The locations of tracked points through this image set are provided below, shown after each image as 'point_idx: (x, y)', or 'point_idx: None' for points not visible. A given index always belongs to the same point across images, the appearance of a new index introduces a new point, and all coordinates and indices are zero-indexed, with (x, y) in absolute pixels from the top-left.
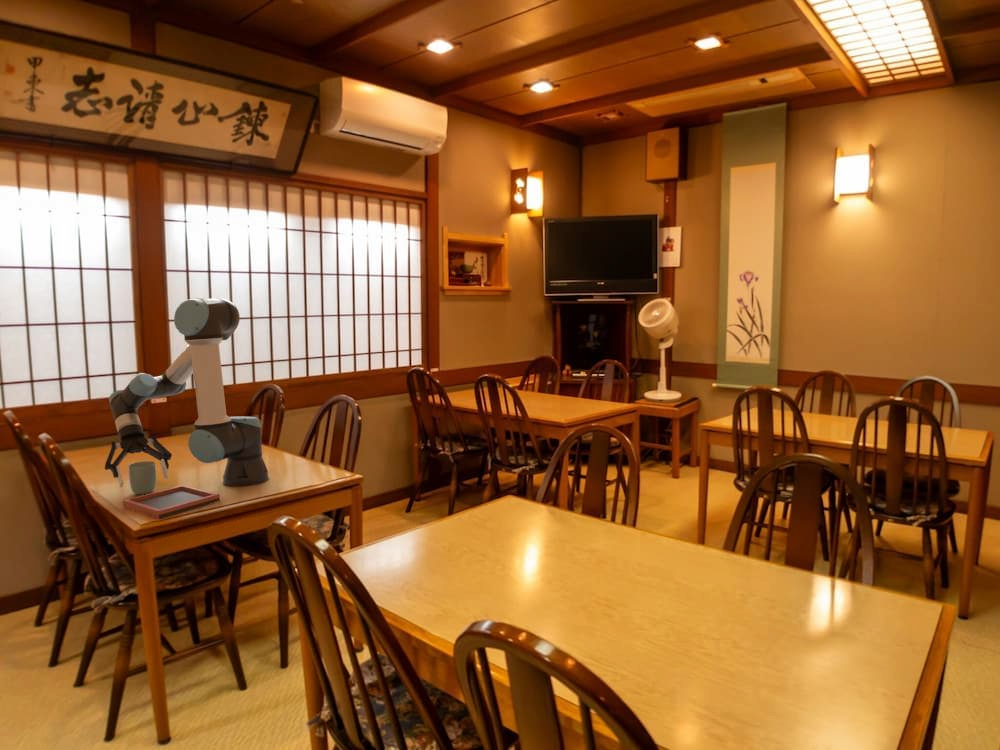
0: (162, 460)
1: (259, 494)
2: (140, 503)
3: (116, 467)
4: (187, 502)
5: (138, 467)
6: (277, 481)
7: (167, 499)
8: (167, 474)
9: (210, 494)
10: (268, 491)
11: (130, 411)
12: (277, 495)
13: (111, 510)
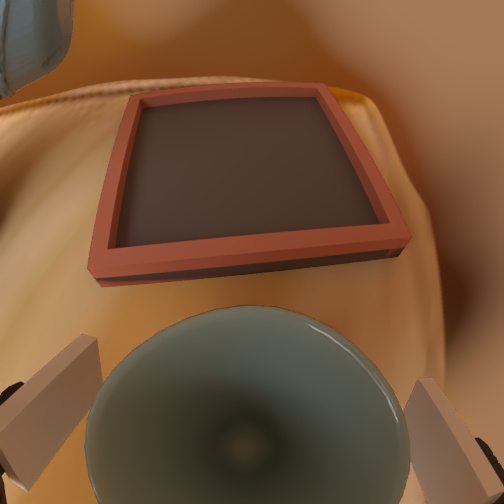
0: (2, 422)
1: (55, 113)
2: (344, 202)
3: (494, 493)
4: (234, 85)
5: (340, 336)
6: None
7: (241, 174)
8: (87, 336)
9: (138, 109)
10: (31, 122)
11: None
12: (55, 95)
13: (434, 259)
